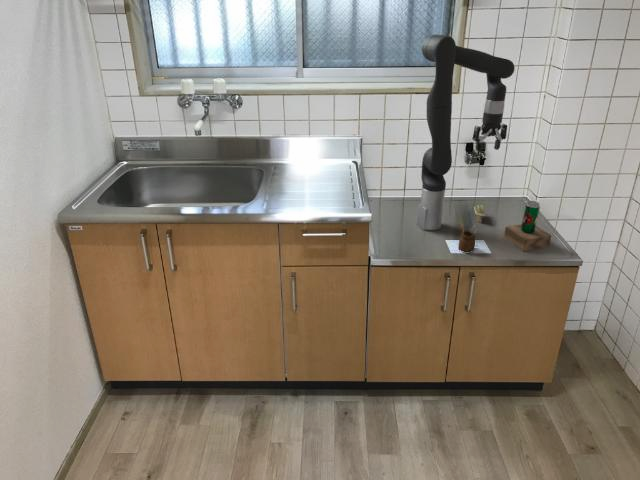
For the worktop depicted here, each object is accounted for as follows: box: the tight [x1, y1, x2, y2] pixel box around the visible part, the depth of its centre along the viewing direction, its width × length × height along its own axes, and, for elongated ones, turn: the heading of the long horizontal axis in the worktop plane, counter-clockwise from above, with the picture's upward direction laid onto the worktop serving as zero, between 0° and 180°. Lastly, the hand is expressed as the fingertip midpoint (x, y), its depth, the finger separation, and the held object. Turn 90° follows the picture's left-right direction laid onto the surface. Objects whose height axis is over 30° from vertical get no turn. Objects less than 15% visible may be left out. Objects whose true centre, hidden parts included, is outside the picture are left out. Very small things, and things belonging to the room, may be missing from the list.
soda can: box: [521, 200, 541, 233], centre depth 195 cm, size 5×5×12 cm
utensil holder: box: [458, 218, 478, 253], centre depth 192 cm, size 6×6×12 cm
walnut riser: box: [503, 223, 552, 252], centre depth 199 cm, size 12×12×5 cm
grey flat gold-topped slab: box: [473, 203, 487, 224], centre depth 218 cm, size 12×18×7 cm, turn 170°
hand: (487, 150), depth 210 cm, fingers open, 8 cm apart
